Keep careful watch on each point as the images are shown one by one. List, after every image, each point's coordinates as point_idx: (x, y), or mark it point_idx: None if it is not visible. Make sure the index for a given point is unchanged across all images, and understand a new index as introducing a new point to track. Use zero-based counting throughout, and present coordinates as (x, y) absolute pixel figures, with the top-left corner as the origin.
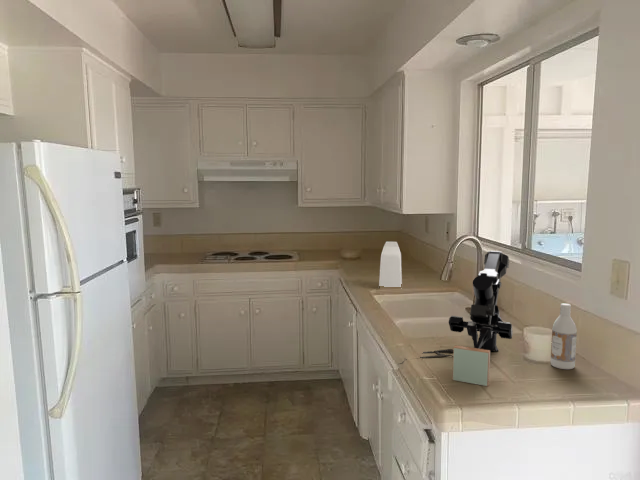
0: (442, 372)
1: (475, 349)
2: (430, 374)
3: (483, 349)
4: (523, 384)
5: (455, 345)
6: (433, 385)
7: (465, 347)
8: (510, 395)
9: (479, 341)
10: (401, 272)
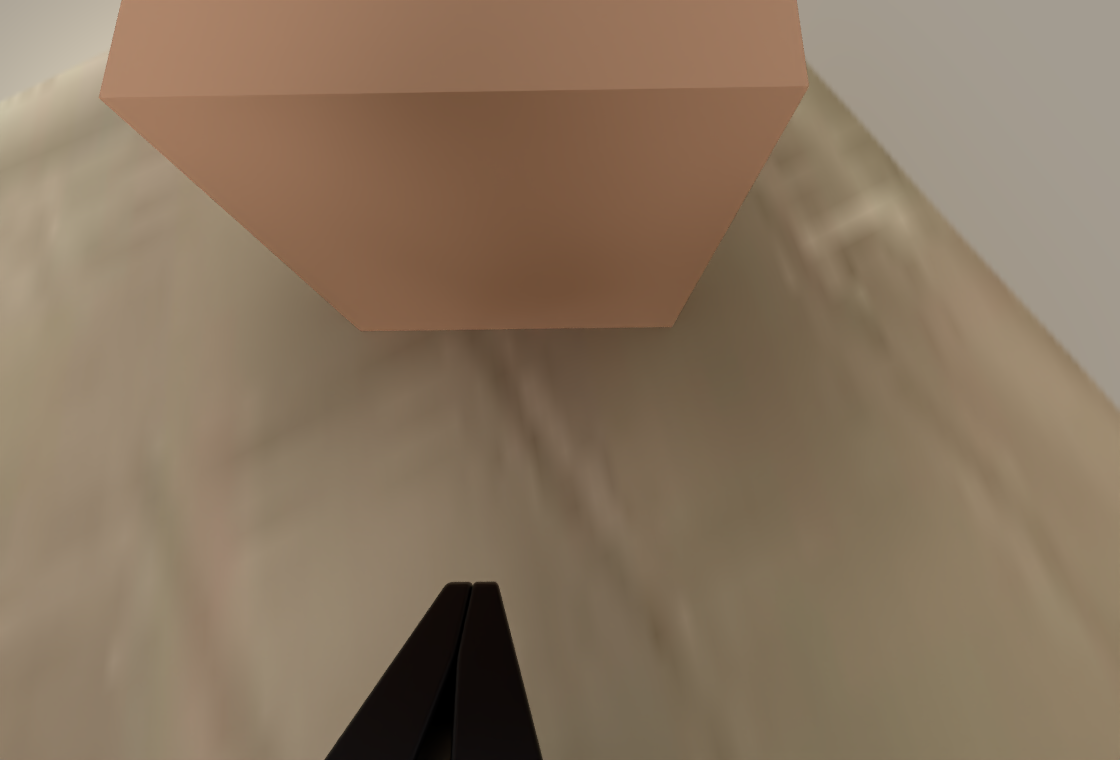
0: (806, 402)
1: (380, 24)
2: (882, 302)
3: (229, 87)
4: (57, 462)
5: (793, 78)
6: None
7: (580, 52)
8: (188, 181)
9: (371, 758)
10: None
